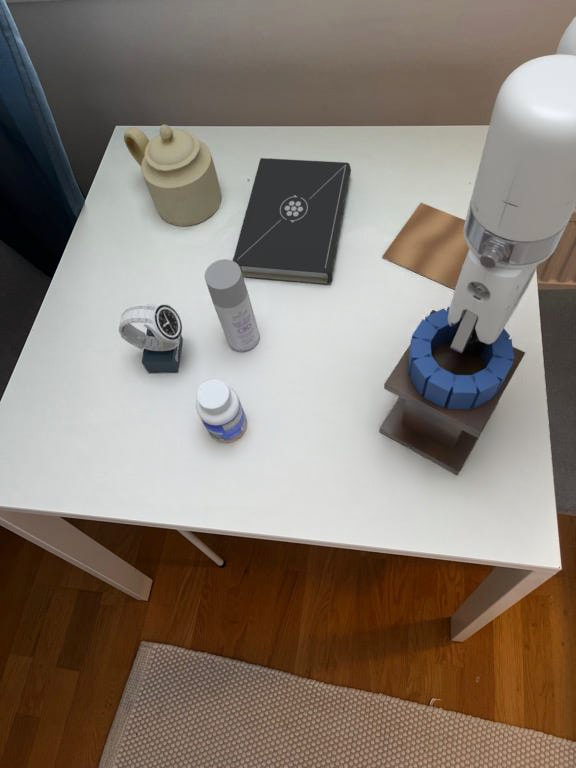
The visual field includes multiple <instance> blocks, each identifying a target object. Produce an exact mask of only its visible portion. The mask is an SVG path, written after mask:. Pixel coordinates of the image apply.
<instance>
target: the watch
mask: <svg viewBox="0 0 576 768" xmlns="http://www.w3.org/2000/svg"><path fill="white" fill-rule="evenodd" d="M133 323H135V324H136V323H142V324H143V326H144V327H145V328H146V333H145V332H144V331H142V330H140V329H138V328H137V327H135V326H134V325H132V324H133ZM118 333H119V335H120V338H122V339H123V340H124V341H126V342H127V343H129V344H130V345H131V346H134V348H137V349H140V350H142V351H143V352H142V356H141V357H142V358H141V365H143V368H144V369H145V370H146V371H147V373H148V374H162V373H163V374H167V373H170V374H171V373H173V374H174V373H180V372H179V371H180V363H181V357H182V348H183V341H184V338H183V335H182V333H183V324H182V320H181V317H180V315H179V314H178V312H177V310H176V309H175V308H173V307H172V306H171V304H168V303H162V304H152V303H148V304H147V305H135V306H131V307H129V308H126V309H125V310H124V311H123V312H122V313H121V315H120V321H119V326H118Z"/></svg>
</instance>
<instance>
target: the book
mask: <svg viewBox="0 0 576 768" xmlns="http://www.w3.org/2000/svg"><path fill="white" fill-rule="evenodd" d="M351 168H352V167H351V165H350V163H349V162H347V161H346V162H343V161H326V160H325V161H324V160H307V159H306V160H305V159H289V158H288V159H287V158H286V159H283V158H267V157H265V158H264V157H260V158H259V162H258V166H257V169H256V173H255V177H254V179H253V180H254V181H253V183H252V188H251V192H250V195H249V199H248V202H247V207H246V209H245V213H244V218H243V222H242V225H241V228H240V233H239V236H238V240H237V243H236V247H235V251H234V255H233V257H232V261H234V262H236V263H237V264H238V265H239V267H240V269H241V272H242V275H243V278H248V279H258V280H259V279H260V280H271V281H282V282H293V283H305V284H316V285H326V286H327V285H328V286H329V285H331V284H332V281H333V275H334V271H335V263H336V257H337V252H338V247H339V242H340V235H341V229H342V224H343V219H344V213H345V207H346V202H347V197H348V190H349V185H350V180H351V175H352V169H351Z"/></svg>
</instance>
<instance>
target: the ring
mask: <svg viewBox="0 0 576 768" xmlns="http://www.w3.org/2000/svg"><path fill="white" fill-rule="evenodd" d="M449 309H450V306H448V307H447V308H446V309H445V308H444V307H443V308H441V309H438V310H436V311H437V312H435V313H433V314H431V315H429V314H428V315H427V316H425V317H424V319H422V320H420V322H419V324H418V325H417V327H416V328H415V330H414V331H413V333H412V335H411V338H410V342H409V343H410V344H409V345H410V348H409V354H408V375H410V380H411V381H412V383H413V384H414V386H415V387H416V389H417V390H418V392H419V393H420V395H423V394H425V395H424V398H425V399H427V400H429V401H431V402H433V403H435V404H437V405H439V406H440V407H442V408H444V406H445V405H446V403H447V409H470V407H471V406H472V407H473V408H476V407H478V406H479V405H481V404H483V403H485V402H487V401H489V400H491V399H492V398H493V396H494V397H495V395H496V394H497V392H498V390H499V388H500V387H501V385H502V383H503V381H504V380H505V378H506V376H507V374H508V372H509V370H510V368H511V366H512V364H513V360H514V354H513V347H514V346H513V339H512V338H510V337H511V335H510V334H509V333H508V331H507V330H506V329H505V328H504V329H503V330H502V332H501V334H500V335H499V337H498V338H497V340H496V341H495V342H493V343H491V344H486V343H485V345H484V347H483V350H482V352H481V354H480V356H481V357H482V358H483V360H484V367H485V369H483V370H481V371H479V372H477V373H475V374H473V375H455V374H453V373H451V372H449V371H447V370H445V369H443V368H441V367H440V366H439V365H438V364H437V362H436V361H435V359H434V358H433V357H432V353H431V352H432V350H433V349H434V348H436V347H438V346H440V345H442V344H444V343H446V342H452V340H453V336H454V333H455V330H456V326H457V324H458V322H457V323H456V324H455V326H453V325H452V326H451V327H450V325H449V323H448V314H449Z"/></svg>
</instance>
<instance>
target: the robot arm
mask: <svg viewBox="0 0 576 768" xmlns="http://www.w3.org/2000/svg"><path fill="white" fill-rule="evenodd" d="M575 209H576V15H575V16H574V18H572V20H571V22H570V23H569V25H568V26H567V27H566V29H565V31H564V33H563V34H562V36H561V38H560V40H559V43H558V46H557V49H556V53H555V54H550V55H543V56H539V57H537V58H533V59H530V60H528V61H526V62H524V63H522V64H521V65H519V66H517V67H516V69H514V70H513V71H512V72H511V73H510V74H509V75H508V76H507V77H506V79H505V80H504V81H503V83H502V84H501V87H500V88H499V91H498V93H497V95H496V98H495V102H494V105H493V109H492V113H491V118H490V121H489V125H488V129H487V133H486V138H485V141H484V145H483V149H482V153H481V157H480V161H479V165H478V169H477V173H476V177H475V181H474V185H473V189H472V193H471V197H470V201H469V204H468V209H467V212H466V216H465V219H464V220H465V224H464V238H465V241H466V243H467V245H468V247H469V250H468V253H467V256H466V259H465V262H464V264H463V265H462V270H461V273H460V276H459V279H458V282H457V285H456V288H455V290H454V291H453V295H452V298H451V302H450V306H449V307H450V309H449V314H448V323H449V325H450V327H451V326H452V325H453V326H455V324H456V323H457V322H458V324H457V326H456V330H455V333H454V336H453V340H452V344H451V347H450V348H451V349H453V350H455V351H457V352H460V353H463V352H464V353H466V354H472V355H474V356H477V357H478V356H479V355H480V354H481V352H482V350H483V347H484V345H485V343H486V344H491V343H493V342H495V341H496V340H497V338H498V337H499V335H500V334H501V332H502V330H503V329H505V327H506V325H507V324H508V322H509V321H510V319H511V317H512V315H513V314H514V313H515V311H516V309H517V307H518V305H519V304H520V301H521V300H522V298H523V296H524V295H525V293H526V291H527V289H528V288H529V286H530V284H531V282H532V280H533V278H534V276H535V273H536V271H537V267H538V265H540V264H542V263H544V262H545V261H547V260H548V259H549V258H550V257H551V256H552V255H553V254H554V252H555V251H556V249H557V247H558V245H559V242H560V240H561V238H562V237H563V234H564V232H565V230H566V228H567V226H568V224H569V222H570V219H571V217H572V215H573V214H574V211H575Z"/></svg>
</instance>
